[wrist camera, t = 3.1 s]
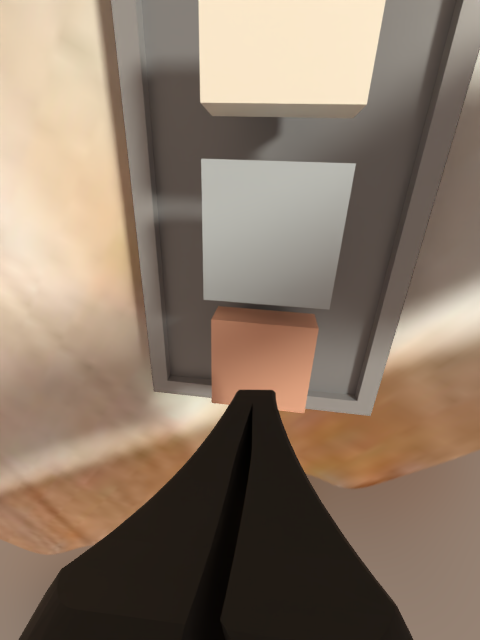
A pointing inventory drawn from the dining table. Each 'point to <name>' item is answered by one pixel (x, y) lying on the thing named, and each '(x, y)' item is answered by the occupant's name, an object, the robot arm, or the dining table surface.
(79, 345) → the dining table surface
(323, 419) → the dining table surface
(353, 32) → the cream square block
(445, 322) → the dining table surface
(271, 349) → the tan small block
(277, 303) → the key light grey
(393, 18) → the grey rectangular tray
